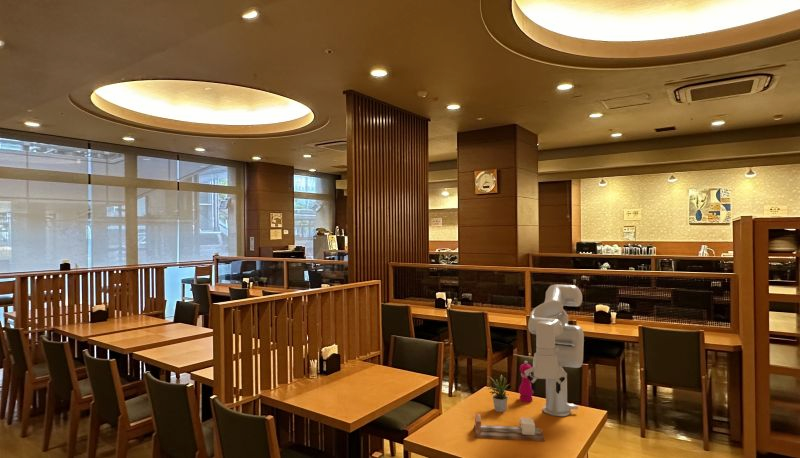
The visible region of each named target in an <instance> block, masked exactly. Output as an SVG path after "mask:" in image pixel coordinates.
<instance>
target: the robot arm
mask: <svg viewBox="0 0 800 458" xmlns="http://www.w3.org/2000/svg"><path fill="white" fill-rule="evenodd" d="M582 303H583V294H582V291H581V290H580V288H579V287H578V286H576V285H574V284H573V285H572V284H557V283H555V284H552V285H549V286H548V288H547V290H546V291H545V298H544V301H543V302H542V303H541V304H539V305H537V306H536V307H534V308H533V309H532V311H531V312H530V315H529V318H528V324H527V328H528V329H527V330H528V332H530V333H531V334H532V335H535V336H536V337H535V341H536V343H535V345H536V346H535V347H536V349H535V351H536V352H534V354H533V358H532V366H531V367H532V368H530V369H528V370H525V371H524V372H525V374H526V376H527V378H528V379H529V380H530V383H531V390H533V394H534V393H536V381H537V379H539V380H545V405H543V406H542V411H543V412H544V413H545V414H547V415H550V416H553V417H567V416H570V415H571V413H572V411H571V410H578V409H579V407H578V405H577V404H574V403H569V402H568V373H567V372H566V370H564V368H563V367H567V368H574V369H578V368H581V367H582V366H583V362H584V342H585V339H584V338H585V335H584V334H585V333H584V330H583V328H582V327H581V326H579V325H574V324H569V314H568V313H567V312H566V310H565V309H564V306H565V307H566V306H567V307H580V306H581V305H582ZM530 372H531V373H532V375H531V377H530V376H529V373H530Z"/></svg>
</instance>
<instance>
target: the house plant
mask: <svg viewBox="0 0 800 458" xmlns="http://www.w3.org/2000/svg"><path fill="white" fill-rule="evenodd" d="M487 377H488V378H489V379H491V380H492V383H491V381H489V380H488V383H491V385H488V386H489V387H488V390H490V391H489V394H490V395H493V394H494V395H493V396H492V400H493V401H492V402H493V408H494V410H495V412H498V413H504V412H506V411H507V404H508V400H509V399H508V396H509V393H508V394H507V391H509V390H511V388H509V389H507V388H508V387H509V386H510V383H509V384H507V383H508V382H507V381H508V378H507V379H506V378H504V376H503V375H502V374H501V375H500V377H499V380H498V379H496V378H495V380H494V379H493V378H492V377H491V376H488V375H487ZM503 378H504V379H503ZM502 381H503V382H502ZM492 386H493V387H492ZM506 390H507V391H506Z"/></svg>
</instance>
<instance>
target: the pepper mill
mask: <svg viewBox="0 0 800 458" xmlns="http://www.w3.org/2000/svg"><path fill="white" fill-rule="evenodd" d="M532 367H533V366H531V364H529V363H528V361H527V360H524V363H522V364H521V365H520V366H519V371H520V377H521V383H520V385H519V387H518V393H519V400H520V401H521V402H523V403H532V401H533V396H534V392H533V390H531V381H530V380H529V379H528V378H527V376H526V374H525V372H524V371H525V370H528V369H530V368H532ZM531 373H532V372H530V373H529V376H530V377H531V378H532V374H531Z"/></svg>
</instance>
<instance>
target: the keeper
mask: <svg viewBox="0 0 800 458" xmlns="http://www.w3.org/2000/svg"><path fill="white" fill-rule="evenodd" d="M519 427H521V428H522V434H525V435H535V428H536V424H535V421H534V419H533V417H523V416H522V417H519Z"/></svg>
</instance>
